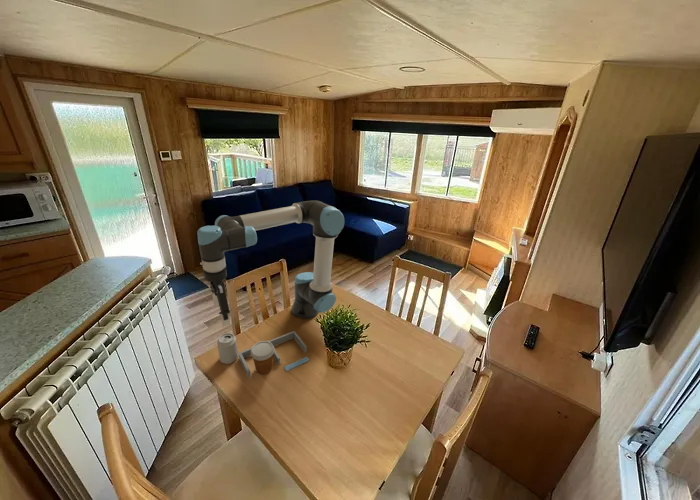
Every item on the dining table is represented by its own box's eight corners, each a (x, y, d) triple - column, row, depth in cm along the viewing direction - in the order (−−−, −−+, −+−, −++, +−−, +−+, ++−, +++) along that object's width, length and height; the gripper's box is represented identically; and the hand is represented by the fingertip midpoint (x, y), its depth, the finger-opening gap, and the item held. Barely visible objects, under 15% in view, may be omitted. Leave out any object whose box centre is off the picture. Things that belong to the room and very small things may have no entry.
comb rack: (294, 336, 139) (294, 330, 138) (306, 352, 130) (306, 346, 129) (239, 358, 124) (238, 352, 122) (248, 378, 115) (247, 372, 114)
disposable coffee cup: (247, 372, 118) (245, 351, 113) (263, 357, 126) (262, 337, 120) (264, 382, 114) (262, 360, 109) (280, 366, 122) (279, 345, 117)
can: (241, 353, 127) (238, 332, 122) (233, 366, 120) (230, 345, 115) (225, 350, 127) (222, 330, 122) (216, 363, 121) (213, 342, 116)
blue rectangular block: (306, 357, 127) (306, 356, 127) (309, 360, 126) (309, 359, 126) (284, 367, 121) (284, 366, 121) (286, 371, 120) (286, 370, 119)
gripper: (197, 256, 108) (205, 301, 117) (210, 287, 90) (219, 337, 99) (217, 252, 112) (224, 296, 121) (235, 281, 94) (241, 330, 103)
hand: (222, 315), depth 110 cm, fingers open, 13 cm apart
